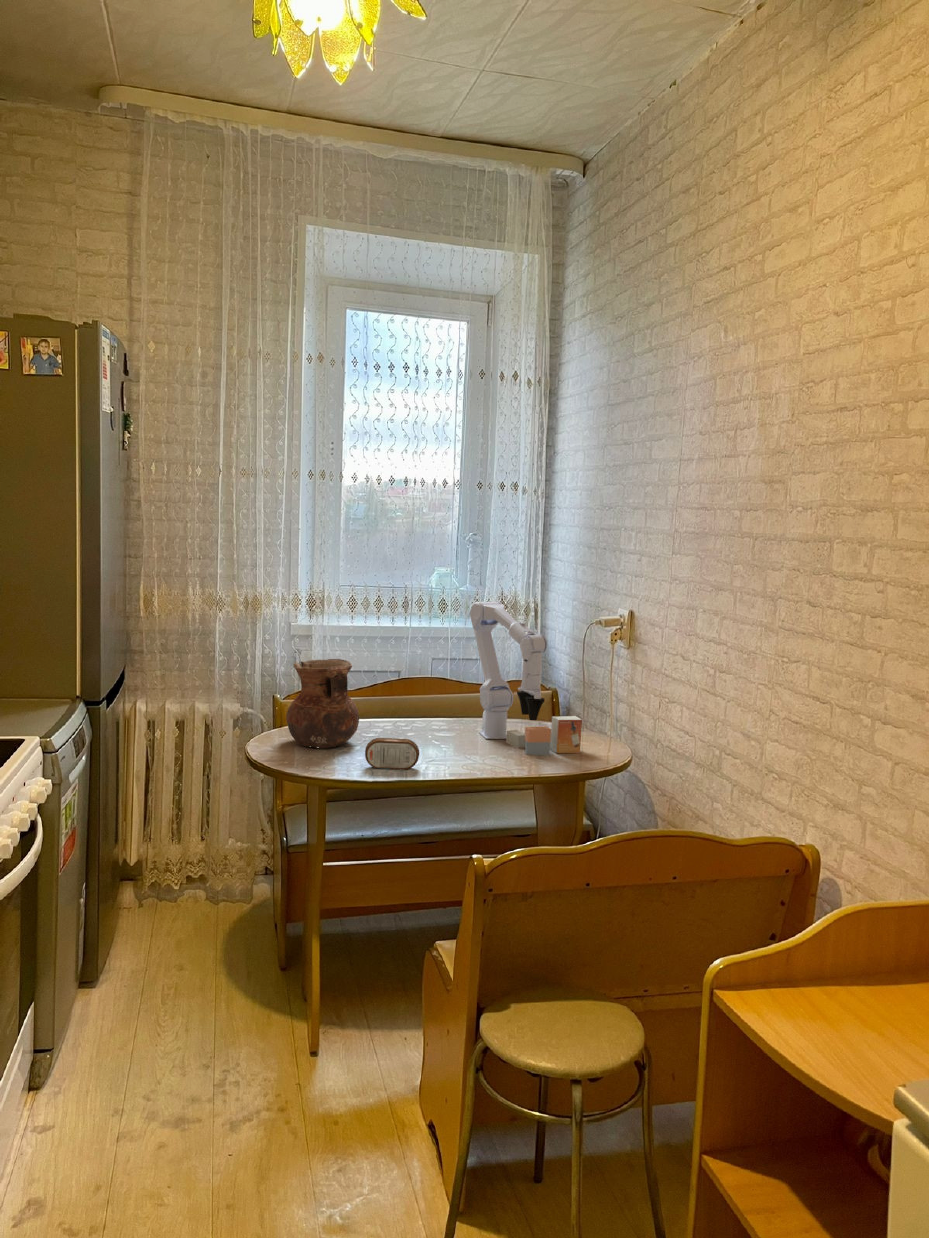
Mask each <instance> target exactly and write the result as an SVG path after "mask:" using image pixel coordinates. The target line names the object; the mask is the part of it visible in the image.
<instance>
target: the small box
mask: <svg viewBox="0 0 929 1238" xmlns="http://www.w3.org/2000/svg"><path fill="white" fill-rule="evenodd" d="M582 724H583V719H581V718H580V717H578V716H576V715H572V716H571V715H568V716H567V715H566V716H563V715H562V716H551V724H550V725H551V728H550V729H551V742H550V751H552V752H553V753H555V754H580V753H581V744H582V743H581V742H582V727H583V725H582Z"/></svg>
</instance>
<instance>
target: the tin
mask: <svg viewBox="0 0 929 1238" xmlns="http://www.w3.org/2000/svg"><path fill="white" fill-rule="evenodd" d="M364 756H365V760H366V762H367V763H368V765H369V766H370V767H372V768H374V769H377V768H390V769H389V770H400V769H404V770H405V769H406V770H410V769H412V768H413V767H414V766H416V764H417V763H418V761H419V757H420V749H419V747H418V745H417V743H416V742H415V741H413V740H411V739H409V738H396V737H395V738H394V737H393V738H392V737H375V738H373V739H371V740H370V741H369V742H368V743H367V745H366V746H365V751H364ZM404 770H403V771H404Z"/></svg>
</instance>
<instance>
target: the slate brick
mask: <svg viewBox="0 0 929 1238" xmlns="http://www.w3.org/2000/svg"><path fill="white" fill-rule="evenodd" d="M524 749H525V750H524V753H525V755H526V756H550V754H551V753H550V751H551V749H550V742H535V743H528V742H527V741H526V743H525V747H524Z"/></svg>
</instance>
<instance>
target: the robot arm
mask: <svg viewBox="0 0 929 1238" xmlns="http://www.w3.org/2000/svg"><path fill="white" fill-rule="evenodd" d="M469 614H470V615H469V617H470V620H471V625H472V630H473V632H474V633H473V634H474V638H475V642H476V647H477V651H478V654H479V655H478V656H479V659H480V665H481V669H482V674H483V678H484V682H483V684H482V685H481V686H480V687H479V692H480V693H479V701H480V702H479V703H480V705H481V707H482V708H483V709H482V710H483V711H482V712H483V713H482V720H481V721H482V722H481V723H482V724H481V725H482V726H481V730H479V731H478V733H479V734H480V735H481V736H482V737H484V739H486V740H506V736H507V727H508V723H507V722H508V710H510V707H512V705H513V703H514V693H513V692H512V690H511V688H510V684H509V683H508V681H506V680H505V679H503V678H502V675H501V671H500V667H499V662H498V657H497V654H496V649H495V645H494V641H493V636H492V631H493V630H494V629H495V628H496V627H497V626H498V625H499V624H500V625H501V626H503V627H504V628H506V629H507V630H508V634H509V636H510V637H511V638H512V639H513V640H514V641H515V642H516V643H517V644H519V648H520V651H521V657H522V659H523V660H522V672H521V673H522V675H521V676H522V678H521V683H520V686H519V687H517V690H518V691H516V695H517V697H518V700H519V703H520V709H521V710H520V711H521V714H522V715H524V716H526V715H528V721H537V720H538V717H539V713H540V710H541V708H542V705H543V704H544V702H545V701H546V700H545V698H544V697H542V689H541V682H542V679H541V678H542V668H543V667H542V665H543V664H542V663H543V654H544V652H546V650H547V647H548V642H547V639H546V637H545V636H544V634H542V633H535V632H534V630H533V629H532V628H529V627H528V626H527V624H526V622H524V621H516V619H514V617H512V615H511V614H510V613H509V612H508V611H507V610H506V605H504V604H503V603H502V602H501V601H475V602H473V603H472V605H471V607H470V610H469Z"/></svg>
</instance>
